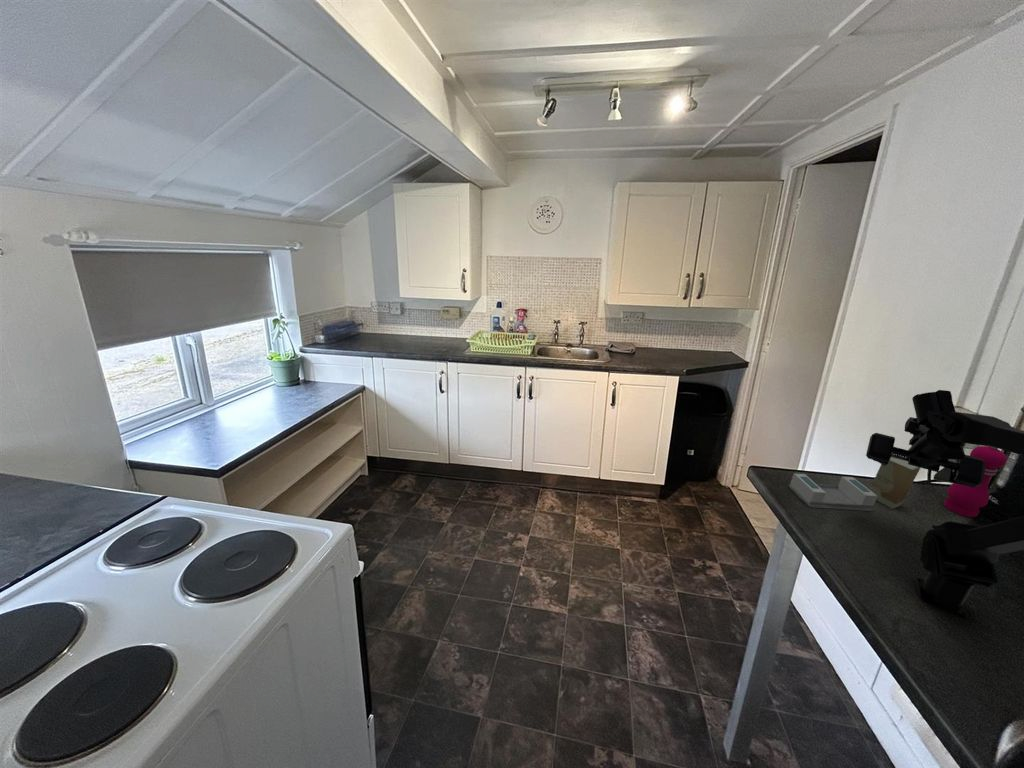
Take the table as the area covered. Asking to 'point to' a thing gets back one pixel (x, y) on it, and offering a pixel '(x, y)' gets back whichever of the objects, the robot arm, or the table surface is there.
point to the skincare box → (893, 482)
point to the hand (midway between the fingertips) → (908, 470)
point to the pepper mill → (973, 498)
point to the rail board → (835, 499)
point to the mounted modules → (846, 485)
